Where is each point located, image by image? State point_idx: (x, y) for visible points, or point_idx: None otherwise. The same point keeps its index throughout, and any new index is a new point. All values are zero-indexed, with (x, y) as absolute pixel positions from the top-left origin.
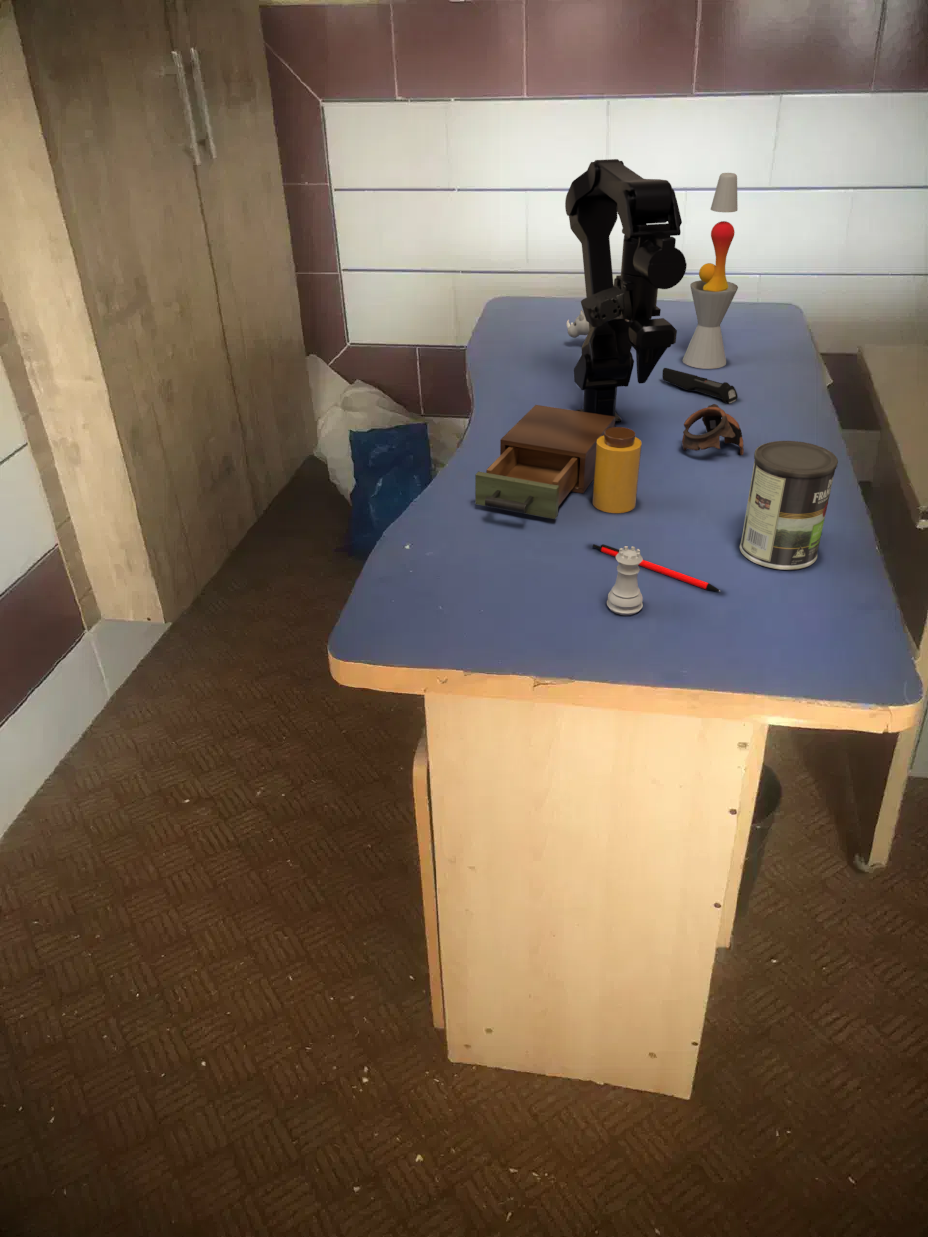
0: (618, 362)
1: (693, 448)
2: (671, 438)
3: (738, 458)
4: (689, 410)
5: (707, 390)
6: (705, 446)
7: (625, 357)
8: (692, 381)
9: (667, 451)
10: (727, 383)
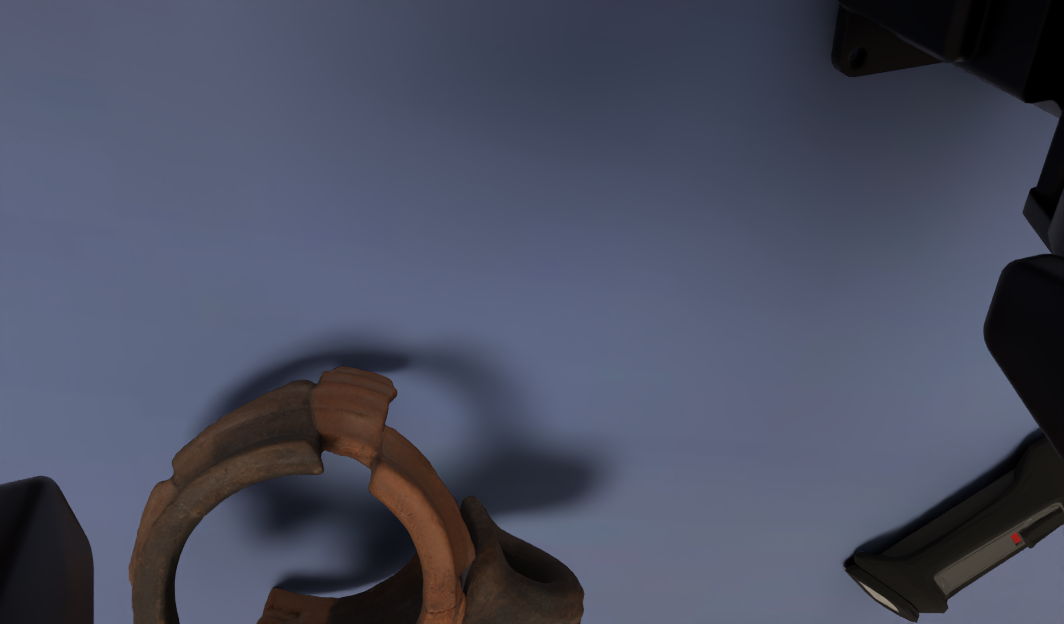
0: (1037, 258)
1: (194, 442)
2: (533, 319)
3: (235, 578)
4: (845, 429)
5: (960, 523)
6: (143, 519)
7: (1050, 396)
8: (1052, 489)
9: (339, 276)
10: (937, 611)
